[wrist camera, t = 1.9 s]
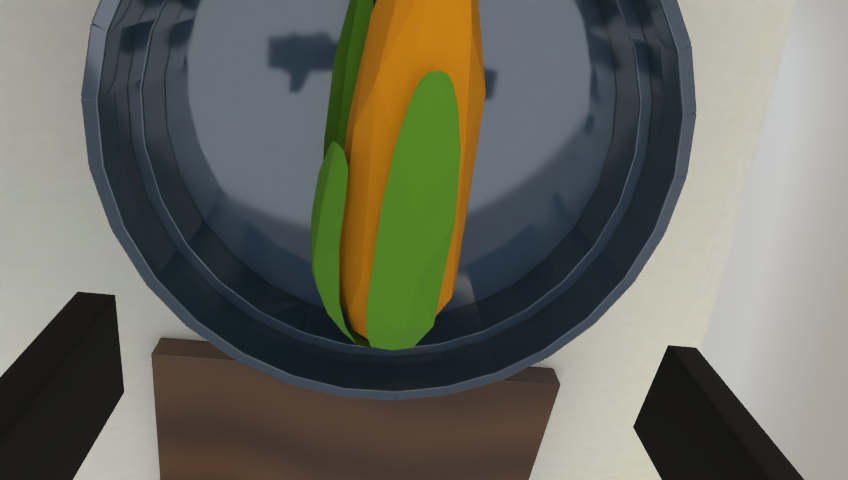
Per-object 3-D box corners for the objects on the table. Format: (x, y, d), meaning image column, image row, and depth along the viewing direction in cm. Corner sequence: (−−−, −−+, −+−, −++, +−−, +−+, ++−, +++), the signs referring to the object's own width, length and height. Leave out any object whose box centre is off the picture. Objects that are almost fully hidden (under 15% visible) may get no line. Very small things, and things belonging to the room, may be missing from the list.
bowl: (123, -220, 21) (38, -280, 16) (708, -102, 25) (800, -118, 19) (156, 310, 32) (112, 381, 26) (563, 344, 35) (596, 414, 30)
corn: (299, 394, 25) (329, -144, 16) (306, 299, 31) (330, -117, 23) (462, 396, 26) (571, -99, 17) (436, 305, 33) (505, -85, 24)
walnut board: (160, 337, 33) (151, 354, 31) (553, 368, 36) (560, 384, 34) (170, 502, 39) (163, 521, 37) (506, 516, 42) (510, 534, 41)
